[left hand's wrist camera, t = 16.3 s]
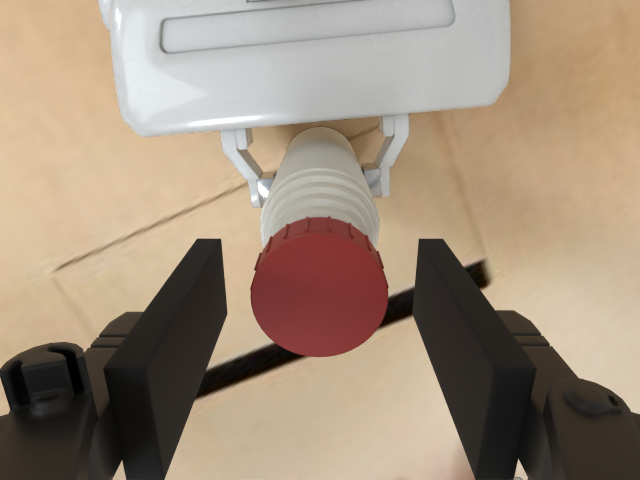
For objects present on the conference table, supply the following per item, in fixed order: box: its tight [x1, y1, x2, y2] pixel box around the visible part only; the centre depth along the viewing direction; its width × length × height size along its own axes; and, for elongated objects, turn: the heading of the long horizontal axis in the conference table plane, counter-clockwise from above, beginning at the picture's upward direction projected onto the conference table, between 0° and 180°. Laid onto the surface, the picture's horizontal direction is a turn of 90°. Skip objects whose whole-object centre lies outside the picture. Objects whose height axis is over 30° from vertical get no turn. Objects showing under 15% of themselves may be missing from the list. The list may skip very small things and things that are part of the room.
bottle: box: [260, 127, 379, 249], centre depth 23 cm, size 5×5×20 cm
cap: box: [250, 216, 388, 357], centre depth 14 cm, size 4×4×2 cm
